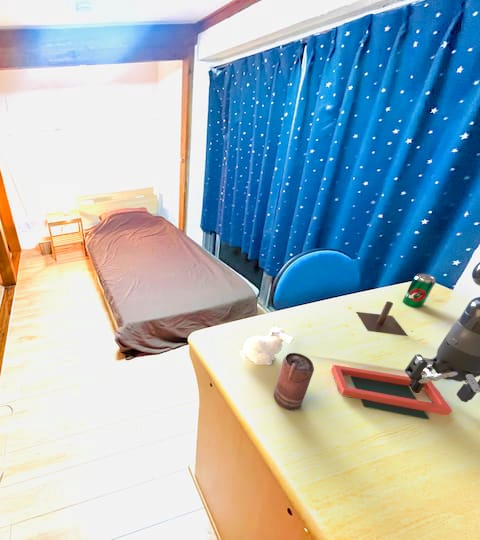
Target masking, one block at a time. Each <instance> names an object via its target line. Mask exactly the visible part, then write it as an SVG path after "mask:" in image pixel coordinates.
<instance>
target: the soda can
mask: <svg viewBox="0 0 480 540" xmlns="http://www.w3.org/2000/svg"><path fill="white" fill-rule="evenodd" d="M436 282H437V281H436V277H435V276H433V275H431V274H427V273H416V275H415V276H413V278H412V280H411V282H410V284H409V287H408V289H407V291H406V293H405V295H404V297H403V299H402V303H403V304H404V305H405V306H408V307H410V308H414V309H415V308H416V309H421V308H423V306H424V305H425V302H426V301H427V300H428V297H429V295H430V293H431V291H432V290H433V288H434V286H435V284H436Z"/></svg>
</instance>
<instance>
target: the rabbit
mask: <svg viewBox="0 0 480 540" xmlns="http://www.w3.org/2000/svg"><path fill="white" fill-rule="evenodd" d="M293 340H294V337H292V336H289V335H287V334H285V332H284V330H283V329H282V328H280V327H272V328H271V329H270V331H269V333H268V335H266V336H261V335H254V336H252V337H249V338H248V339H247V340H246V341H245V342H244V345H243V350H242V349H241V350H240V351H239V353H240V354H239V355H240V357H241V358H242V359H243V360H245V361H248V362H249V361H250V362H252V363H253V364H254V365H256V366H257V365H258V366H259V365H260V366H261V365H263V366H265V365H267V366H271V365H272V364H273V361H274V360H275V359H276V355H277V354H279V353H280V352H281V350H282V347H283V342H285V343H287V344H288V345H290V344H291V343H292V341H293Z"/></svg>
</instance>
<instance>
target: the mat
mask: <svg viewBox="0 0 480 540" xmlns="http://www.w3.org/2000/svg"><path fill="white" fill-rule="evenodd" d="M349 377H350V379H351V381H352V383H353V385H354V387H355V388H354V389H360V390H365V391H371V392H376V393H382V394H387V395H393V396H398V397H404V398H409V399H415V400H418V399H417V398H416V395H414V392H413V390H412V389H411V388H410V386H406V385H400V384H394V383H389V382H383V381H377V380H371V379H365V378H360V377H354V376H349ZM360 400H361V403H362V406H363V407H364V408H368V409H372V410H373V409H374V410H378V411H382V412H383V411H384V412H387V413H394V414H399V415H403V416H407V417H413V418H419V419H423V420H429V419H430V418H429V416H428V414H427V413H426V411H421V410H416V409H411V408H406V407H401V406H395V405H390V404H385V403H380V402H375V401H369V400H364V399H360Z"/></svg>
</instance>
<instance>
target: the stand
mask: <svg viewBox="0 0 480 540" xmlns="http://www.w3.org/2000/svg"><path fill="white" fill-rule="evenodd" d="M393 305H394V303H393V302H392V301H386V302H385V304H384V306H383V308H382V311H381V312H380V313H371V312H363V311H362V312H361V311H355V313H356V315H357V316H358V318H359V320H360V321H361V323H362V325H363V326H364V328H365V329H366V331H367V332H373V333H380V334H388V335H397V336H404V337H409V336H408V334H407V332H405V330H404V328H402V326H401V325H400V323H399V322H398V321H397V320H396V318H395V317H394V316H393V315H390V311H391V310H392V307H393Z"/></svg>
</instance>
